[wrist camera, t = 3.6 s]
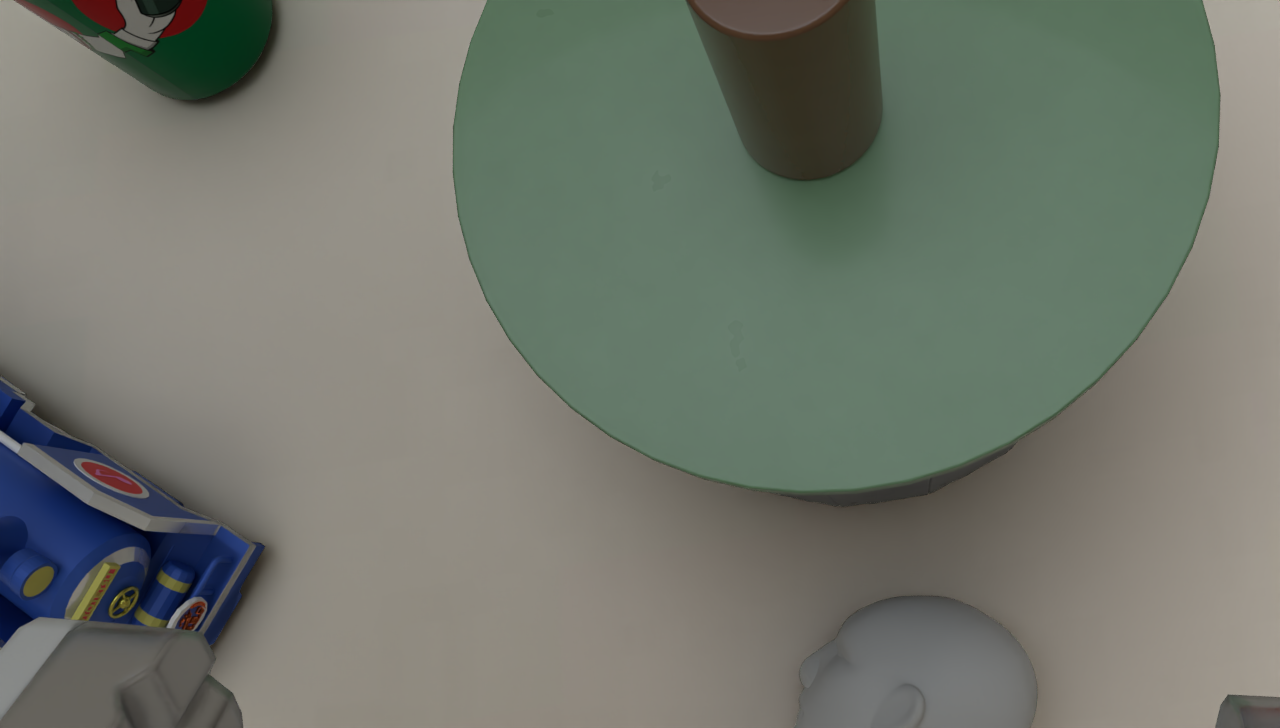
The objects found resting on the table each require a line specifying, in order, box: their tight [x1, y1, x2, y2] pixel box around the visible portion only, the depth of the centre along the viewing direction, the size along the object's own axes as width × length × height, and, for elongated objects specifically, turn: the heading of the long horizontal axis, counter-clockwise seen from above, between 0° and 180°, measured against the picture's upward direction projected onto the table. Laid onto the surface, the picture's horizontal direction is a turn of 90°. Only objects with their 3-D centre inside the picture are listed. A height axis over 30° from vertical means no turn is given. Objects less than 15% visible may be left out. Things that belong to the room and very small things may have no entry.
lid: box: [453, 0, 1220, 496], centre depth 19 cm, size 14×14×7 cm
